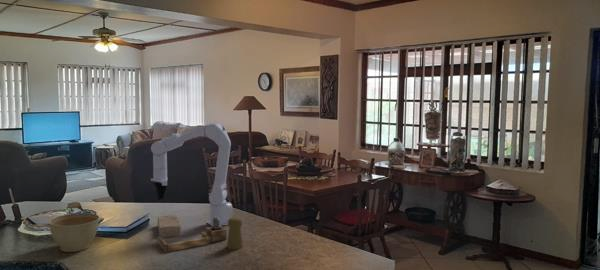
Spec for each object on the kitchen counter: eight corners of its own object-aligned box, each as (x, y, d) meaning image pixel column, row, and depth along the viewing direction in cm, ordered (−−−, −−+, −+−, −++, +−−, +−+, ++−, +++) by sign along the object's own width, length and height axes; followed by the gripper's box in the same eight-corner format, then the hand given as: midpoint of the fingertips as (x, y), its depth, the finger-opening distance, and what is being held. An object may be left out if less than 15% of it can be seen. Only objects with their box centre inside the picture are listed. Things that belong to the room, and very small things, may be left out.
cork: (246, 245, 163) (246, 216, 162) (238, 250, 157) (238, 220, 156) (231, 243, 165) (231, 214, 164) (223, 248, 159) (223, 219, 158)
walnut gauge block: (220, 235, 174) (220, 225, 173) (226, 239, 169) (226, 229, 168) (206, 237, 170) (206, 227, 170) (211, 242, 165) (211, 232, 165)
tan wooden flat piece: (200, 235, 173) (200, 229, 172) (210, 243, 164) (210, 237, 163) (157, 243, 163) (157, 236, 163) (166, 252, 154) (166, 245, 154)
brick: (181, 236, 173) (181, 224, 172) (159, 238, 170) (159, 226, 169) (177, 224, 188) (177, 214, 188) (157, 226, 185) (157, 215, 185)
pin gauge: (216, 237, 171) (216, 217, 170) (220, 238, 170) (220, 218, 169) (211, 238, 169) (211, 218, 169) (215, 240, 168) (215, 220, 167)
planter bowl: (49, 259, 147) (47, 227, 146) (51, 244, 161) (50, 215, 160) (101, 251, 154) (100, 222, 153) (98, 238, 168) (98, 210, 167)
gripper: (146, 166, 192) (147, 196, 193) (155, 171, 179) (155, 203, 181) (162, 165, 195) (163, 194, 197) (172, 170, 183) (172, 201, 184)
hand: (160, 199), depth 189 cm, fingers closed
